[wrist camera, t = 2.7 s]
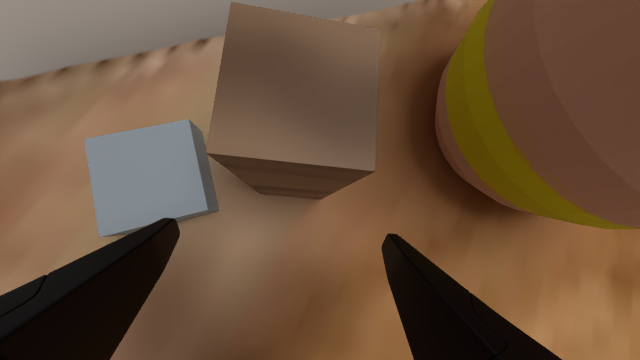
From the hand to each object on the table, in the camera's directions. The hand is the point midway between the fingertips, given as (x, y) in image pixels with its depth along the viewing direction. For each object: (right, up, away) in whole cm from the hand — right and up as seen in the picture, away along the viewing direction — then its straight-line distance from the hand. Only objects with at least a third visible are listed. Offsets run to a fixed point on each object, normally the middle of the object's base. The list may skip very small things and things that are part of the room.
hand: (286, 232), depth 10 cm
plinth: (-13, +2, +12) cm, 18 cm away
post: (-1, +4, +13) cm, 14 cm away
